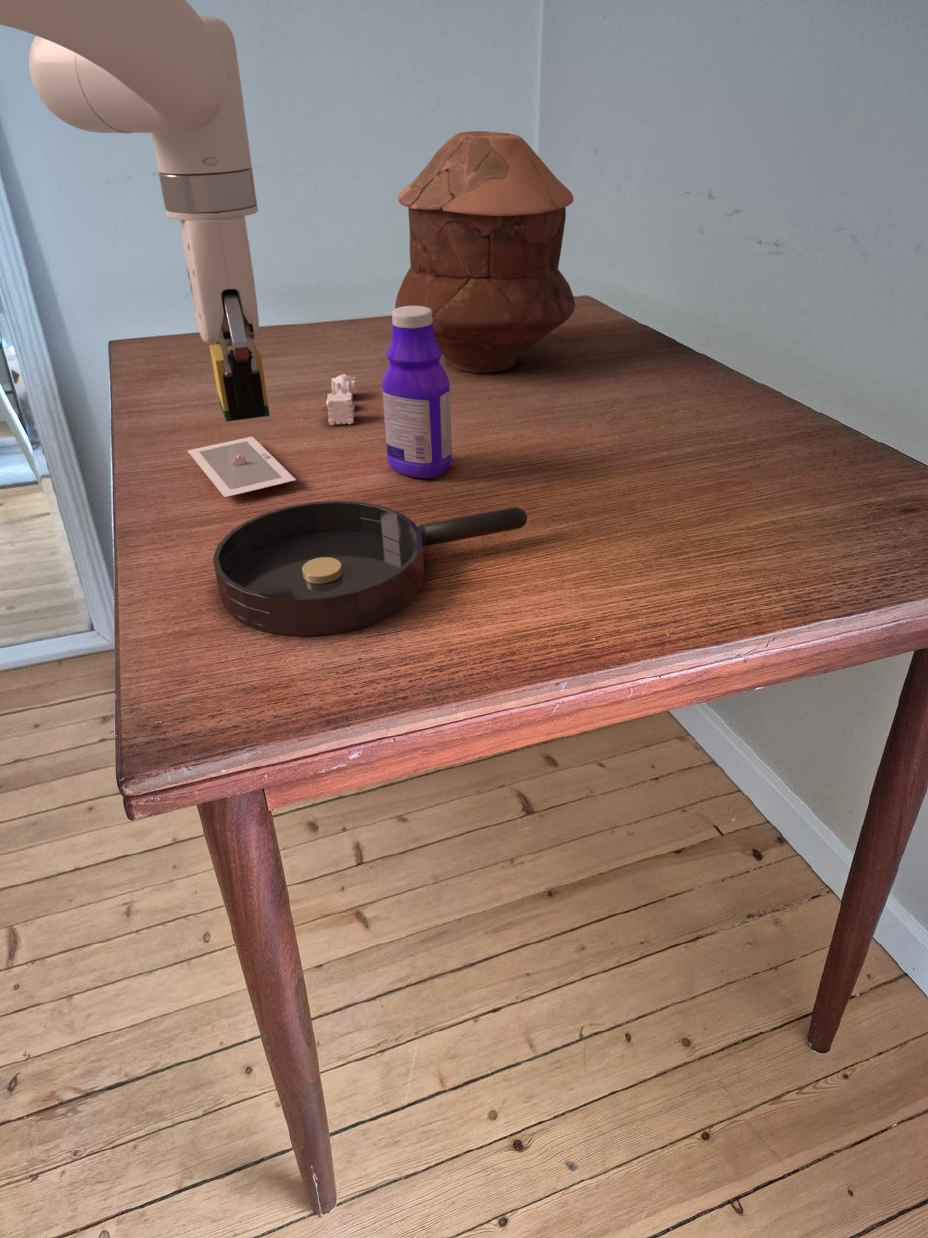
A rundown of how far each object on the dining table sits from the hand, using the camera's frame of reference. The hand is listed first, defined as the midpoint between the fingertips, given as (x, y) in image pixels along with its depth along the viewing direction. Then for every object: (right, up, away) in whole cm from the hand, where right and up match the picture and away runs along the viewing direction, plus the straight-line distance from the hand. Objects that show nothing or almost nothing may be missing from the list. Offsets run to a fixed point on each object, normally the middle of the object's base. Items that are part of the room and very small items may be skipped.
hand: (243, 404), depth 84 cm
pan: (+8, -17, -4) cm, 19 cm away
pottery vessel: (+24, +18, +48) cm, 57 cm away
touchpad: (-4, -4, +17) cm, 18 cm away
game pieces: (+5, +7, +33) cm, 34 cm away
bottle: (+16, -4, +16) cm, 23 cm away
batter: (+8, -16, -4) cm, 19 cm away
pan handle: (+21, -13, -1) cm, 25 cm away
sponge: (0, 0, 0) cm, 0 cm away
